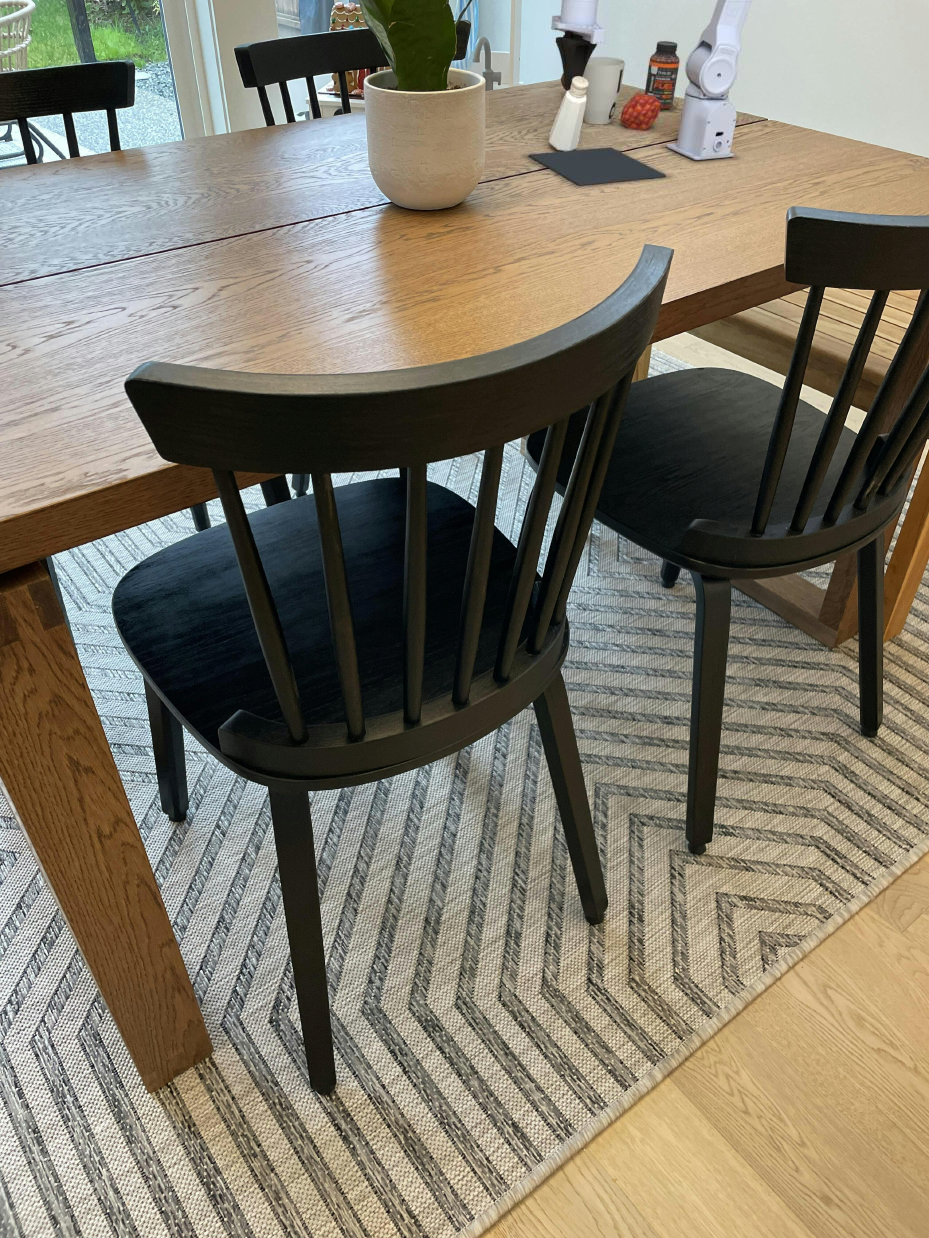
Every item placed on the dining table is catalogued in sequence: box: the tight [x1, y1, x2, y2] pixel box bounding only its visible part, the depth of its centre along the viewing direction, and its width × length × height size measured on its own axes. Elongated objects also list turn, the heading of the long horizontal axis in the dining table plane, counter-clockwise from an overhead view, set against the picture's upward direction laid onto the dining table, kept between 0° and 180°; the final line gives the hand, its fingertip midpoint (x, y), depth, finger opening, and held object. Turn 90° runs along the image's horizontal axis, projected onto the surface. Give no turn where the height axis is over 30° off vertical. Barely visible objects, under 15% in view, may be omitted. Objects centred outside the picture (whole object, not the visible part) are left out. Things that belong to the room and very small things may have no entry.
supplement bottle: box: [644, 40, 681, 111], centre depth 184 cm, size 6×6×11 cm
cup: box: [583, 56, 626, 125], centre depth 173 cm, size 8×8×10 cm
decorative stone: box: [619, 93, 662, 131], centre depth 172 cm, size 6×7×8 cm
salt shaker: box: [548, 76, 589, 152], centre depth 155 cm, size 5×5×11 cm
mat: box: [528, 146, 667, 187], centre depth 152 cm, size 18×16×1 cm
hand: (572, 87), depth 153 cm, fingers closed
